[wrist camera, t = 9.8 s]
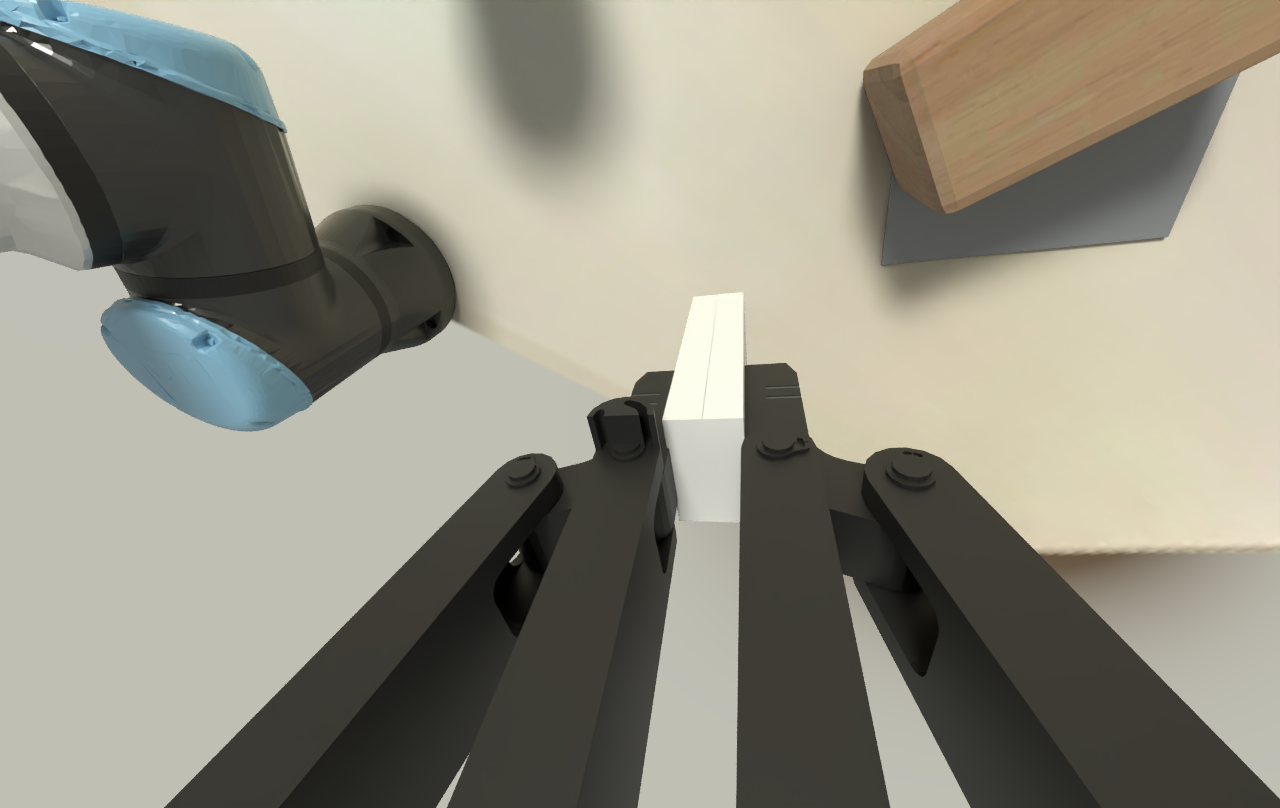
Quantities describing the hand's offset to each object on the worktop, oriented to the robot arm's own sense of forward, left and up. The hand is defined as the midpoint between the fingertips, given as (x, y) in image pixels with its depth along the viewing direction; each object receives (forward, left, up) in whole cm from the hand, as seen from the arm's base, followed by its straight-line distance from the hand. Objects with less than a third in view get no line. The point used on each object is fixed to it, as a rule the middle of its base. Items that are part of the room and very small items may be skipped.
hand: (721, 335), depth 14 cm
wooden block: (+11, +2, -25) cm, 27 cm away
